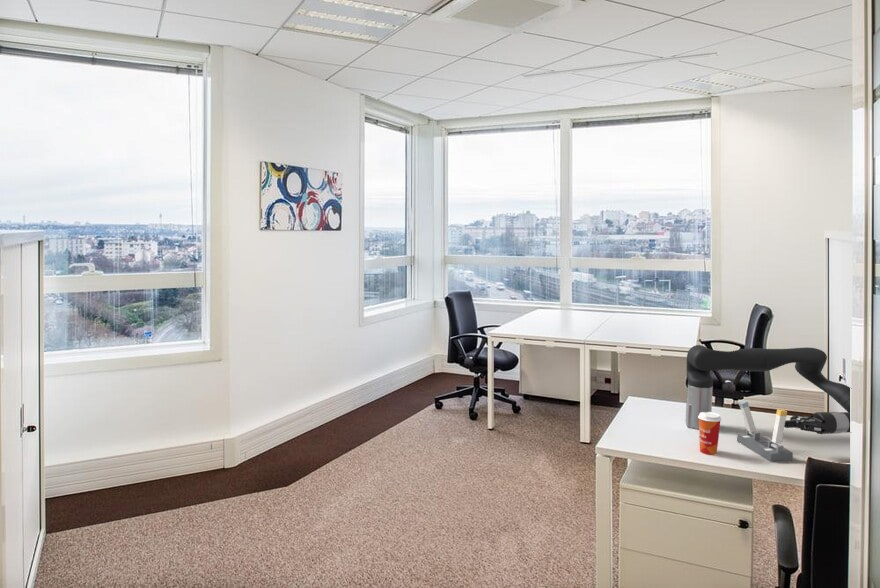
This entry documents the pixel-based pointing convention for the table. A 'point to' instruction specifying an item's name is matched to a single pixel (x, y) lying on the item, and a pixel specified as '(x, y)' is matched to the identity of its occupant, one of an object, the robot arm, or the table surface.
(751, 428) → the toggle
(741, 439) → the toggle switch base
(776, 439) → the toggle
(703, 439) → the paper cup
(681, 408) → the table surface
